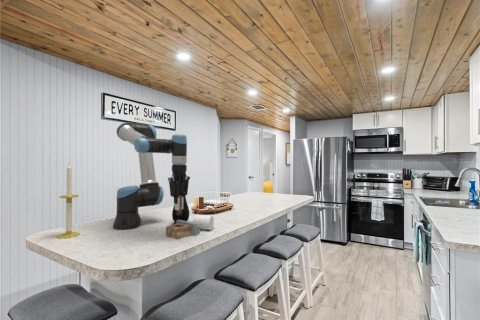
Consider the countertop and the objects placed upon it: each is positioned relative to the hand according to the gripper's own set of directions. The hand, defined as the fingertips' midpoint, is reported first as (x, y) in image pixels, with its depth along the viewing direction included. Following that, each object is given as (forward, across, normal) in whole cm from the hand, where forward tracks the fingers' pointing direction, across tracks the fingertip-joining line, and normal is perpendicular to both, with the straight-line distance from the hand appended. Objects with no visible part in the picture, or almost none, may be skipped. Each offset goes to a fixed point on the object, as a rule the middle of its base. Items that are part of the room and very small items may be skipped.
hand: (179, 209), depth 132 cm
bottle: (+14, +18, +19) cm, 30 cm away
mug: (+14, +18, -1) cm, 23 cm away
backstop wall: (+14, +7, 0) cm, 15 cm away
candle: (+14, -34, +45) cm, 58 cm away
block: (+14, 0, 0) cm, 14 cm away
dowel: (+3, 0, 0) cm, 3 cm away
